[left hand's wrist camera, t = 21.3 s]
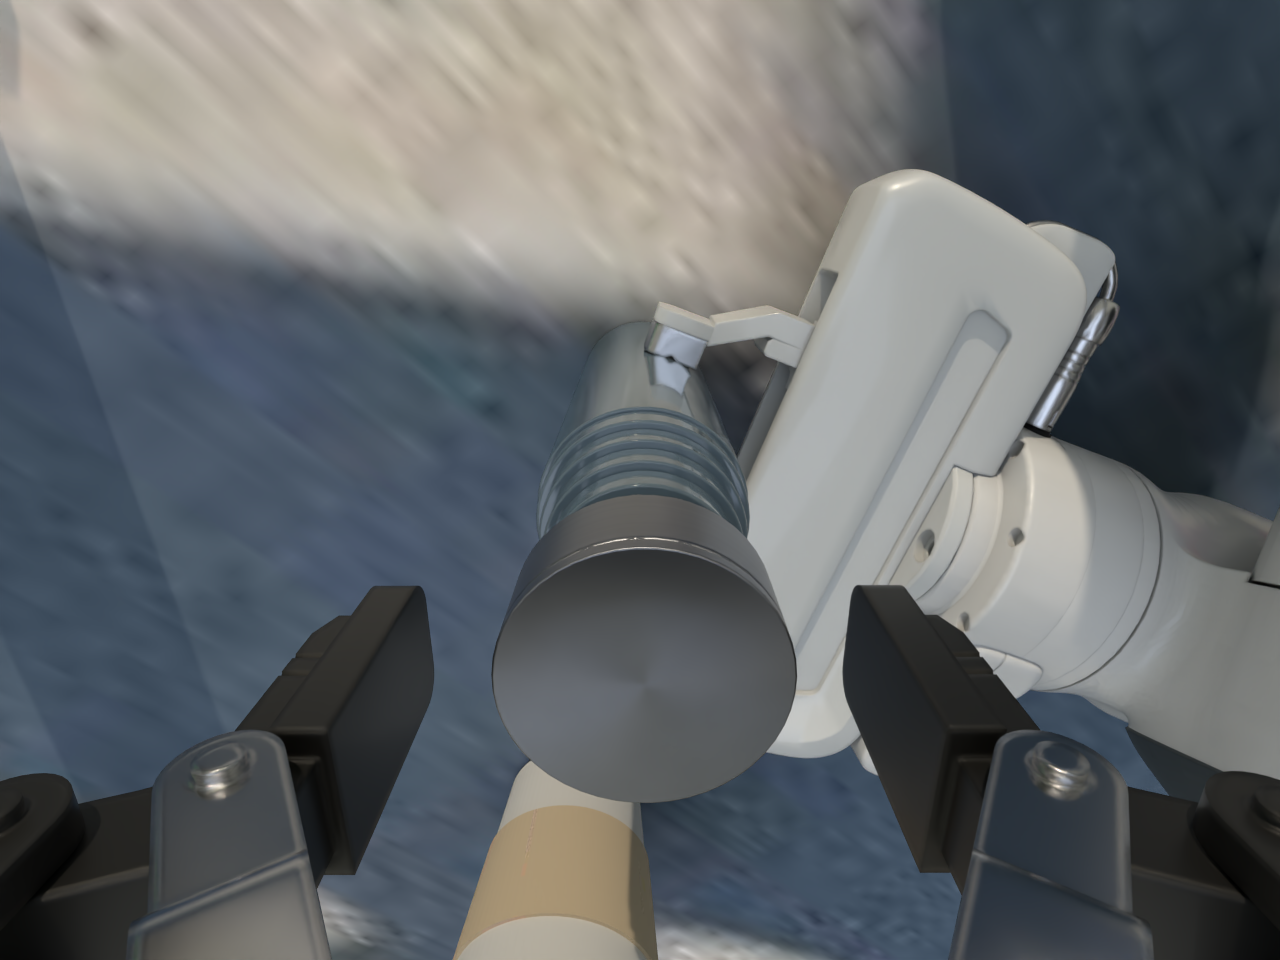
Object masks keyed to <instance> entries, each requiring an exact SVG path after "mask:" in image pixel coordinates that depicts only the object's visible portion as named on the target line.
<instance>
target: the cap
mask: <svg viewBox="0 0 1280 960" xmlns="http://www.w3.org/2000/svg"><path fill="white" fill-rule="evenodd" d="M491 675H492V687H493V694H494V698H495V703H496V707H497V710H498V712H499V715H500V717H501V720H502V722H503V724H504V726H505V728H506V729H507V731H508V733H509V735H510V736H511V738H512V739H513V741H514V742H515V743H516V745H517V746H518V747H519V748H520V750H521V751H522V752H523V753H524V754H525V755H526V756H527V757H528V758H529V759H530V760H531V761H532V762H533V763H534V764H535V765H536V766H538V767H539V768H540V769H542V770H543V771H544V772H546V773H547V774H548V775H550V776H551V777H553V778H555V779H556V780H558V781H560V782H562V783H563V784H565V785H567V786H570V787H572V788H574V789H576V790H579V791H581V792H584V793H587V794H590V795H593V796H596V797H600V798H605V799H610V800H614V801H622V802H632V803H656V802H666V801H674V800H679V799H684V798H689V797H692V796H695V795H698V794H701V793H705V792H707V791H710V790H712V789H714V788H717V787H719V786H721V785H723V784H725V783H727V782H728V781H730V780H732V779H734V778H735V777H737V776H739V775H740V774H741V773H743V772H744V771H745V770H747V769H748V768H750V767H751V766H752V765H753V764H754V763H755V762H756V761H757V760H759V759H760V758H761V757H762V756H763V755H764V754H765V753H766V751H767V750H768V749H769V748H770V747H771V745H772V744H773V743H774V742H775V740H776V739H777V737H778V736H779V734H780V732H781V731H782V729H783V727H784V726H785V723H786V721H787V719H788V716H789V714H790V712H791V709H792V705H793V701H794V697H795V693H796V684H797V663H796V656H795V651H794V647H793V642H792V640H791V637H790V634H789V631H788V628H787V626H786V623H785V620H784V617H783V615H782V612H781V609H780V606H779V603H778V601H777V598H776V595H775V592H774V590H773V587H772V584H771V581H770V578H769V576H768V573H767V571H766V568H765V565H764V563H763V562H762V560H761V558H760V556H759V555H758V553H757V551H756V550H755V549H754V547H753V546H752V545H751V543H750V542H749V541H748V539H747V538H746V537H745V536H744V535H743V534H742V533H741V532H740V531H739V530H738V529H737V528H735V527H734V526H733V525H732V524H730V523H729V522H728V521H726V520H725V519H724V518H722V517H721V516H719V515H717V514H716V513H714V512H712V511H710V510H708V509H706V508H704V507H701V506H699V505H696V504H694V503H691V502H688V501H685V500H682V499H678V498H673V497H666V496H658V495H639V494H638V495H630V496H622V497H616V498H611V499H607V500H603V501H600V502H596V503H594V504H591V505H589V506H586V507H584V508H582V509H580V510H578V511H576V512H574V513H573V514H571V515H569V516H567V517H566V518H565V519H563V520H562V521H560V522H559V523H557V524H556V525H555V526H554V527H553V528H552V529H550V530H549V531H548V532H547V533H546V534H545V535H544V536H543V537H542V538H541V539H540V541H539V542H538V543H537V544H536V546H535V547H534V548H533V549H532V551H531V553H530V554H529V556H528V558H527V560H526V561H525V563H524V565H523V568H522V570H521V573H520V575H519V578H518V580H517V583H516V586H515V589H514V592H513V595H512V598H511V601H510V604H509V607H508V610H507V613H506V615H505V618H504V621H503V624H502V627H501V630H500V633H499V636H498V639H497V642H496V646H495V650H494V655H493V661H492V674H491Z"/></svg>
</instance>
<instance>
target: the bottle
mask: <svg viewBox="0 0 1280 960" xmlns="http://www.w3.org/2000/svg"><path fill="white" fill-rule="evenodd" d="M650 325H651V322H632V323H627V324H624V325H621V326H619V327H616V328H614V329H613V330H611V331H609V332H608V333H607V334H605V335H604V336H603V337H602V338H601V339H600V340H599V341H598V342H597V343H596V344H595V346H594V347H593V349H592V350H591V352H590V354H589V356H588V359H587V361H586V364H585V366H584V369H583V371H582V374H581V377H580V379H579V382H578V384H577V387H576V389H575V392H574V395H573V397H572V400H571V402H570V405H569V407H568V410H567V413H566V415H565V418H564V420H563V423H562V425H561V428H560V431H559V433H558V436H557V438H556V441H555V444H554V446H553V449H552V451H551V454H550V456H549V459H548V462H547V464H546V467H545V469H544V472H543V474H542V477H541V481H540V486H539V490H538V501H537V514H536V520H537V532H538V537H539V541H540V539H541V538H542V537H543V536H544V535H545V534H546V533H547V532H548V531H549V530H550V529H552V528H553V527H554V526H555V525H556V524H557V523H559V522H560V521H562V520H563V519H565V518H566V517H567V516H569V515H571V514H573V513H574V512H576V511H578V510H580V509H582V508H584V507H586V506H589V505H591V504H594V503H596V502H600V501H603V500H607V499H611V498H616V497H622V496H630V495H638V494H639V495H658V496H666V497H673V498H678V499H682V500H685V501H688V502H691V503H694V504H696V505H699V506H701V507H704V508H706V509H708V510H710V511H712V512H714V513H716V514H717V515H719V516H721V517H722V518H724V519H725V520H726V521H728V522H729V523H730V524H732V525H733V526H734V527H735V528H737V529H738V530H739V531H740V532H741V533H742V534H743V535H744V536H745V537H746V538H748V533H749V524H750V511H749V501H748V490H747V485H746V481H745V477H744V474H743V472H742V469H741V466H740V464H739V461H738V459H737V456H736V454H735V452H734V449H733V447H732V444H731V442H730V439H729V437H728V434H727V432H726V429H725V427H724V424H723V422H722V420H721V417H720V415H719V412H718V410H717V407H716V405H715V402H714V400H713V397H712V395H711V393H710V390H709V388H708V385H707V383H706V380H705V378H704V375H703V373H702V370H701V368H700V365H699V364H698V366H697V369H696V370H695V369H693V368H690V367H687V366H684V365H682V364H680V363H678V362H676V361H675V359H674V358H673V356H668V357H661V356H657V355H655V354H652V353H650V352H648V351H646V350H645V349H644V342H645V339H646V336H647V333H648V330H649V327H650Z"/></svg>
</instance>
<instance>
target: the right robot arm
mask: <svg viewBox="0 0 1280 960" xmlns="http://www.w3.org/2000/svg"><path fill="white" fill-rule="evenodd" d="M1117 284H1118V269H1117V265H1116V261H1115V255H1114V253H1113V252H1112V250H1111V249H1110V248H1109V247H1108V246H1107V245H1106V244H1104V243H1103V242H1102V241H1100V240H1099V239H1098V238H1096V237H1094V236H1091V235H1089V234H1087V233H1084V232H1082V231H1079V230H1077V229H1075V228H1072V227H1070V226H1068V225H1065V224H1063V223H1061V222H1057V221H1052V220H1037V221H1031V222H1028V223H1025V224H1024V223H1023V222H1021V221H1020V220H1018V219H1017V218H1015V217H1014V216H1012V215H1010V214H1009V213H1007V212H1006V211H1004V210H1003V209H1001V208H999V207H998V206H996V205H994V204H993V203H991V202H989V201H987V200H986V199H984V198H982V197H980V196H979V195H977V194H975V193H973V192H971V191H970V190H968V189H966V188H964V187H962V186H960V185H958V184H956V183H954V182H952V181H950V180H948V179H945V178H943V177H941V176H939V175H936V174H934V173H931V172H929V171H925V170H918V169H905V170H898V171H894V172H891V173H888V174H885V175H882V176H880V177H878V178H875V179H873V180H871V181H869V182H866V183H864V184H862V185H860V186H859V187H857V188H856V189H855V190H854V191H853V193H852V194H851V196H850V198H849V200H848V202H847V205H846V207H845V209H844V211H843V214H842V216H841V218H840V221H839V223H838V225H837V227H836V230H835V232H834V234H833V237H832V239H831V241H830V243H829V246H828V248H827V250H826V253H825V255H824V257H823V259H822V262H821V264H820V266H819V269H818V271H817V273H816V275H815V278H814V280H813V282H812V285H811V287H810V289H809V291H808V294H807V296H806V298H805V301H804V303H803V305H802V307H801V310H800V312H799V314H798V316H796V315H793V314H790V313H788V312H785V311H782V310H780V309H777V308H774V307H772V306H769V305H765V306H759V307H754V308H748V309H743V310H737V311H732V312H727V313H721V314H716V315H710V318H709V319H708V318H705V317H702V316H700V315H697V314H694V313H692V312H689V311H686V310H684V309H681V308H678V307H676V306H673V305H670V304H667V303H663V302H658V305H657V308H656V311H655V314H654V316H653V319H652V322H651V325H650V327H649V330H648V333H647V336H646V339H645V342H644V349H645V350H646V351H648V352H650V353H652V354H655V355H657V356H661V357H668V356H673V358H674V359H675V361H676V362H678V363H680V364H682V365H684V366H687V367H690V368H693V369H695V370H696V369H697V366H698V364H699V361H700V359H701V357H702V354H703V352H704V350H705V347H706V345H707V346H714V345H721V344H727V343H733V342H740V341H746V340H752V339H754V343H755V346H756V347H757V348H758V349H759V350H760V351H761V352H762V353H763V354H764V355H765V356H766V357H769V358H771V359H774V360H776V361H778V362H777V365H776V367H775V369H774V372H773V374H772V376H771V378H770V381H769V383H768V385H767V388H766V390H765V392H764V394H763V397H762V399H761V401H760V404H759V406H758V408H757V411H756V413H755V415H754V417H753V420H752V422H751V424H750V427H749V429H748V431H747V433H746V436H745V438H744V440H743V443H742V445H741V447H740V449H739V452H738V454H737V459H738V461H739V464H740V466H741V469H742V472H743V474H744V477H745V481H746V485H747V490H748V501H749V511H750V524H749V533H748V538H747V539H748V541H749V542H750V543H751V545H752V546H753V547H754V549H755V550H756V551H757V553H758V555H759V556H760V558H761V560H762V562H763V563H764V565H765V568H766V571H767V573H768V576H769V578H770V581H771V584H772V587H773V590H774V592H775V595H776V598H777V601H778V603H779V606H780V609H781V612H782V615H783V617H784V620H785V623H786V626H787V628H788V631H789V634H790V637H791V640H792V642H793V647H794V651H795V656H796V663H797V684H796V693H795V697H794V701H793V705H792V709H791V712H790V714H789V716H788V719H787V721H786V723H785V726H784V727H783V729H782V731H781V732H780V734H779V736H778V737H777V739H776V740H775V742H774V743H773V744H772V745H771V747H770V748H769V749H768V750H767V751H766V752H768V753H773V754H777V755H783V756H788V757H796V758H819V757H825V756H829V755H832V754H835V753H838V752H840V751H842V750H843V749H845V748H847V747H848V746H849V745H851V747H852V749H853V750H854V752H855V754H856V756H857V758H858V759H859V761H860V763H861V764H862V766H863V767H864V768H865V769H866V770H867V771H869V772H871V773H873V774H875V775H878V774H877V771H876V769H875V767H874V764H873V762H872V760H871V757H870V755H869V753H868V750H867V748H866V746H865V743H864V741H863V739H862V736H861V734H860V732H859V729H858V727H857V725H856V722H855V720H854V718H853V715H852V713H851V711H850V708H849V706H848V704H847V701H846V697H845V693H844V687H843V676H842V668H843V657H844V649H845V641H846V632H847V624H848V616H849V607H850V599H851V594H852V591H853V589H854V587H855V586H856V585H902V586H904V587H905V588H906V589H907V591H908V592H909V594H910V595H911V596H912V598H913V599H914V601H915V602H916V603H917V605H918V606H919V607H920V609H921V610H922V612H923V613H924V614H925V615H938V616H940V617H941V618H943V619H944V620H946V621H947V622H949V623H950V624H952V625H953V626H955V627H956V628H958V629H959V630H961V631H962V632H964V634H965V635H966V636H967V637H968V639H969V640H970V641H971V642H972V644H973V645H974V646H975V648H976V649H977V650H978V651H979V653H980V657H983V658H984V659H985V660H986V662H987V663H988V664H989V665H990V667H991V668H992V669H993V674H997V676H998V677H999V678H1000V679H1001V681H1002V682H1003V683H1004V684H1005V686H1006V687H1007V688H1008V690H1009V691H1010V692H1011V693H1012V695H1013V696H1014V697H1015V698H1016V699H1017V698H1018V697H1020V696H1022V695H1023V694H1025V693H1026V692H1027V691H1029V690H1033V691H1040V692H1055V693H1070V694H1076V695H1080V696H1082V697H1084V698H1085V699H1087V700H1088V701H1089V702H1091V703H1092V704H1093V705H1095V706H1096V707H1098V708H1099V709H1101V710H1102V711H1104V712H1106V713H1108V714H1110V715H1112V716H1114V717H1116V718H1119V719H1121V720H1123V721H1125V722H1128V723H1129V725H1128V727H1126V730H1127V733H1128V735H1129V737H1130V739H1131V741H1132V743H1133V745H1134V747H1135V748H1136V750H1137V751H1138V753H1139V755H1140V756H1141V758H1142V759H1143V761H1144V762H1145V763H1146V765H1147V766H1148V768H1149V769H1150V770H1151V772H1152V773H1153V774H1154V776H1155V777H1156V778H1157V780H1158V781H1159V782H1160V784H1161V785H1162V786H1163V788H1164V789H1165V790H1166V792H1167V793H1168V794H1169V796H1171V797H1176V798H1180V799H1185V800H1189V801H1194V802H1198V803H1199V801H1200V798H1201V795H1202V792H1203V790H1204V787H1205V784H1206V782H1207V780H1208V779H1209V778H1210V777H1211V776H1213V775H1214V774H1217V773H1220V772H1225V771H1244V772H1251V773H1257V774H1261V775H1265V776H1269V777H1272V778H1275V779H1278V780H1280V507H1279V509H1278V512H1277V514H1276V516H1275V519H1274V521H1271V520H1268V519H1266V518H1264V517H1261V516H1259V515H1257V514H1254V513H1252V512H1249V511H1247V510H1244V509H1242V508H1239V507H1237V506H1234V505H1232V504H1229V503H1227V502H1224V501H1220V500H1217V499H1214V498H1210V497H1207V496H1203V495H1198V494H1191V493H1177V492H1165V491H1163V490H1161V489H1159V488H1158V487H1157V486H1156V485H1155V484H1154V483H1152V482H1151V481H1150V480H1149V479H1148V478H1146V477H1145V476H1144V475H1143V474H1141V473H1139V472H1138V471H1136V470H1135V469H1133V468H1131V467H1129V466H1127V465H1125V464H1123V463H1120V462H1118V461H1116V460H1113V459H1110V458H1107V457H1105V456H1102V455H1100V454H1097V453H1094V452H1091V451H1089V450H1086V449H1084V448H1081V447H1078V446H1076V445H1073V444H1070V443H1068V442H1065V441H1063V440H1060V439H1057V438H1055V437H1053V436H1052V435H1050V432H1051V430H1052V429H1053V427H1054V425H1055V424H1056V422H1057V420H1058V419H1059V417H1060V415H1061V414H1062V412H1063V410H1064V409H1065V407H1066V405H1067V404H1068V402H1069V400H1070V399H1071V397H1072V395H1073V393H1074V391H1075V389H1076V387H1077V385H1078V384H1077V382H1079V381H1080V378H1081V374H1082V373H1083V371H1084V369H1085V367H1084V366H1086V365H1087V363H1088V362H1089V358H1091V356H1092V355H1093V353H1094V352H1095V350H1096V348H1097V347H1098V345H1099V346H1101V344H1102V343H1103V342H1104V341H1105V339H1106V338H1107V336H1108V335H1109V333H1110V331H1111V329H1112V328H1113V326H1114V324H1115V321H1116V319H1117V316H1118V313H1119V310H1120V306H1119V305H1118V304H1117V303H1114V302H1112V301H1113V299H1114V296H1115V293H1116V289H1117ZM1101 286H1102V288H1101ZM1100 288H1101V292H1100V295H1099V297H1096V295H1097V293H1098V291H1099V290H1100Z"/></svg>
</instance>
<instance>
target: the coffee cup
mask: <svg viewBox="0 0 1280 960" xmlns="http://www.w3.org/2000/svg"><path fill="white" fill-rule="evenodd" d="M453 960H658V954H657V943H656V933H655V923H654V912H653V902H652V891H651V881H650V870H649V861H648V856H647V852H646V850H645V847H644V841H643V830H642V818H641V807H640V803H632V802H622V801H614V800H610V799H605V798H600V797H596V796H593V795H590V794H587V793H584V792H581V791H579V790H576V789H574V788H572V787H570V786H567V785H565V784H563V783H562V782H560V781H558V780H556V779H555V778H553V777H551V776H550V775H548V774H547V773H546V772H544V771H543V770H542V769H540V768H539V767H538V766H536V765H535V764H534V763H533V762H532V761H530V762H528V763H527V764H526V765H525V766H524V767H523V768H522V769H521V771H520V772H519V773H518V775H517V777H516V778H515V781H514V783H513V787H512V790H511V793H510V796H509V799H508V802H507V805H506V808H505V811H504V814H503V818H502V821H501V824H500V827H499V830H498V833H497V835H496V836H495V838H494V839H493V841H492V843H491V845H490V848H489V851H488V854H487V857H486V860H485V863H484V866H483V870H482V873H481V876H480V879H479V882H478V885H477V888H476V891H475V894H474V897H473V900H472V903H471V906H470V909H469V912H468V915H467V918H466V921H465V924H464V927H463V930H462V934H461V937H460V940H459V943H458V946H457V949H456V952H455V955H454V958H453Z"/></svg>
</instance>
